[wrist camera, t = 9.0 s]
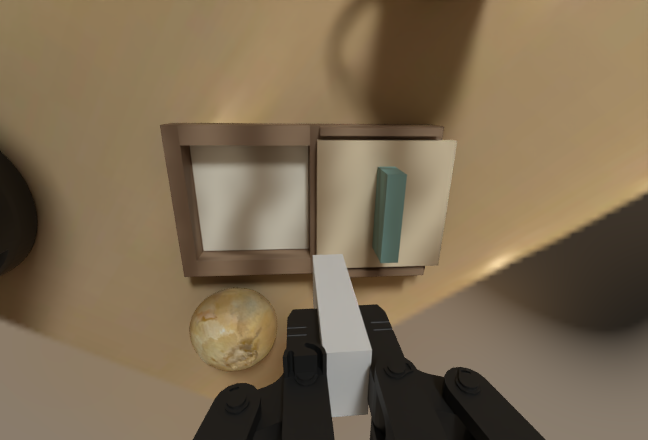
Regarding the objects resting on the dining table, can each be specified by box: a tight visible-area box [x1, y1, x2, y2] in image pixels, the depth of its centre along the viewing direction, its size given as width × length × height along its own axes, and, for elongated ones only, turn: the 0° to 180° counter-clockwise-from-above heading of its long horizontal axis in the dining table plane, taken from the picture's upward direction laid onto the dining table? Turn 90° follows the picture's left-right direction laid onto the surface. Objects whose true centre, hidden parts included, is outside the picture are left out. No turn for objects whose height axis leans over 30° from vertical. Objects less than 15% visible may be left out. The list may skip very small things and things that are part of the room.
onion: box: [189, 287, 277, 371], centre depth 30 cm, size 8×8×7 cm
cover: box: [316, 139, 457, 268], centre depth 25 cm, size 11×11×4 cm
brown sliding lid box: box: [160, 123, 444, 277], centre depth 28 cm, size 22×13×4 cm, turn 89°
